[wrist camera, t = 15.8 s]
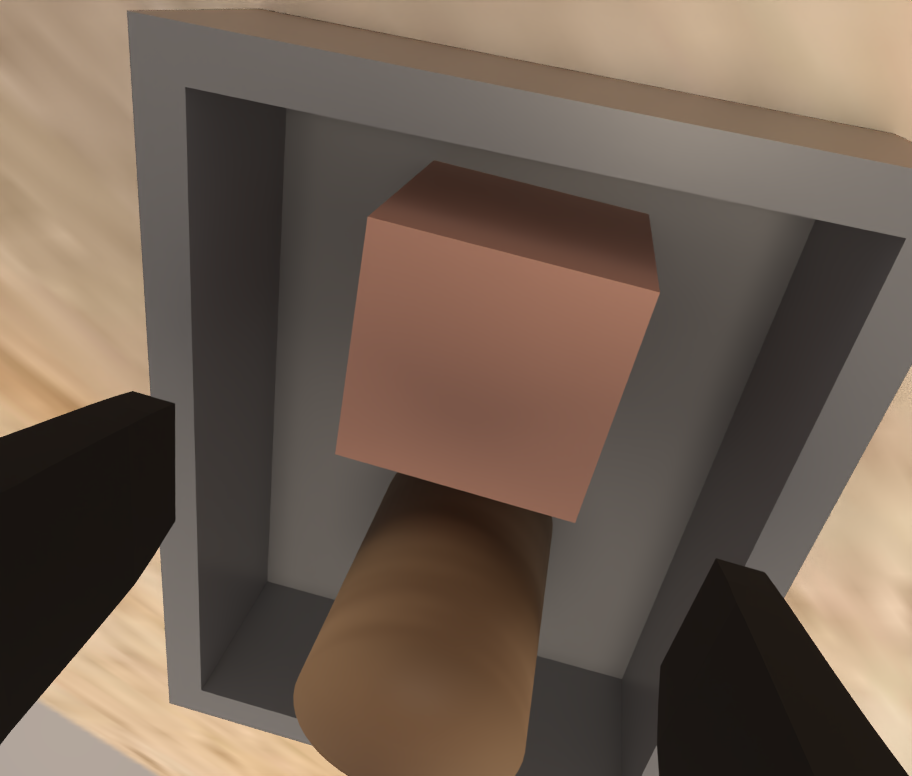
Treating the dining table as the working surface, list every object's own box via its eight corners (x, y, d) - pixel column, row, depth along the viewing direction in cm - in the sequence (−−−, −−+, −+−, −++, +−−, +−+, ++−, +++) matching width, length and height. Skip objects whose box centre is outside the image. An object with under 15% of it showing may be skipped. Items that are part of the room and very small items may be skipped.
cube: (400, 350, 19) (334, 454, 15) (434, 159, 16) (367, 216, 12) (585, 401, 18) (574, 523, 14) (648, 214, 16) (659, 292, 12)
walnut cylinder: (361, 537, 22) (265, 737, 16) (424, 418, 20) (338, 602, 14) (504, 608, 22) (462, 832, 16) (585, 499, 20) (570, 716, 14)
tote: (247, 582, 25) (169, 702, 21) (258, 8, 16) (126, 10, 12) (643, 692, 24) (648, 845, 19) (895, 134, 15) (1008, 187, 11)
